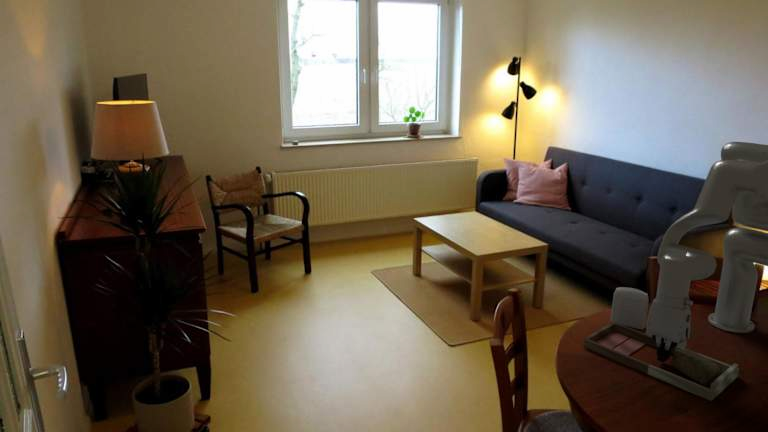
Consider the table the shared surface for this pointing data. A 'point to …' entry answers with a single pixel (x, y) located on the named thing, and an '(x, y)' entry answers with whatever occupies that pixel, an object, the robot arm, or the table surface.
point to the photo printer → (629, 307)
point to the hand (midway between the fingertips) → (662, 359)
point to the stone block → (696, 366)
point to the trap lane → (631, 345)
